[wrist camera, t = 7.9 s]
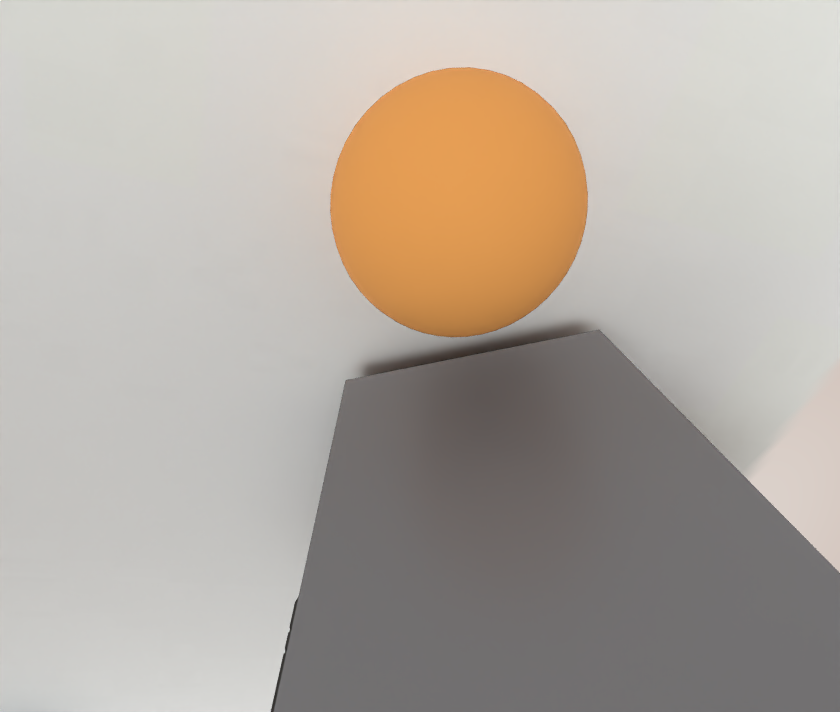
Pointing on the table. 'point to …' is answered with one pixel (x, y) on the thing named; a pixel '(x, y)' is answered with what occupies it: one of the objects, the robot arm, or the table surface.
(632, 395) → the grey block
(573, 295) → the table surface
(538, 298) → the ball
